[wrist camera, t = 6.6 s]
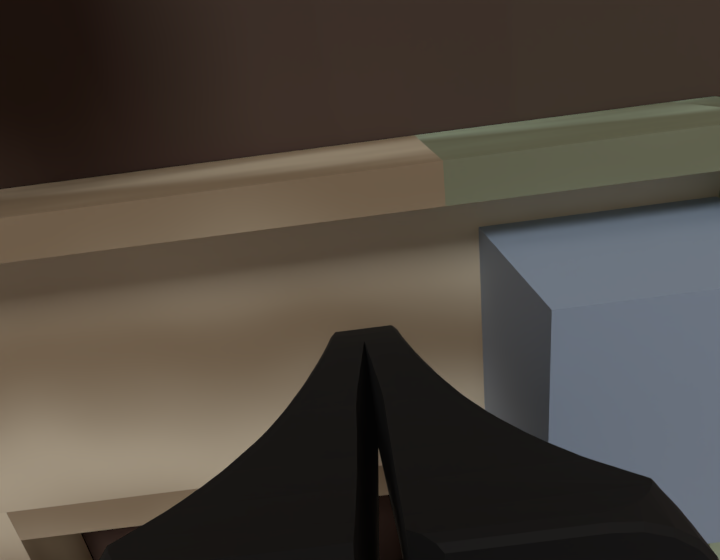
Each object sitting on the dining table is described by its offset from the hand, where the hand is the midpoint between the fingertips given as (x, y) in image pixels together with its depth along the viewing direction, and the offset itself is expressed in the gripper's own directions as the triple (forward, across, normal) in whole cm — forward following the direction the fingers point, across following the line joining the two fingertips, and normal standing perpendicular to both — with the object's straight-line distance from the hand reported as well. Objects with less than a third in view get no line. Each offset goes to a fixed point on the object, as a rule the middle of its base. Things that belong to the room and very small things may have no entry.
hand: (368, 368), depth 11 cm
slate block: (+1, -5, 0) cm, 5 cm away
